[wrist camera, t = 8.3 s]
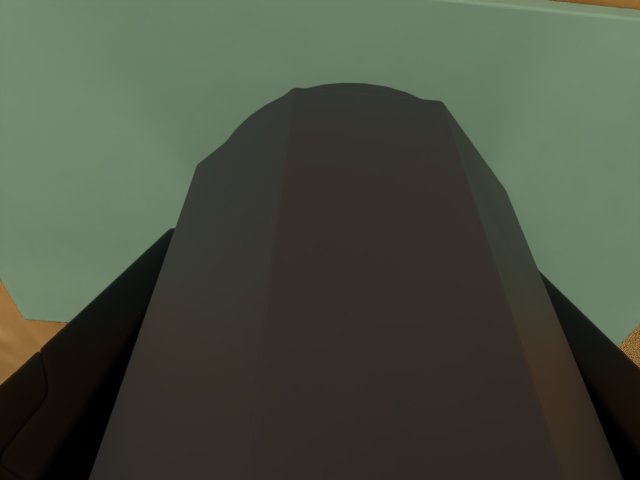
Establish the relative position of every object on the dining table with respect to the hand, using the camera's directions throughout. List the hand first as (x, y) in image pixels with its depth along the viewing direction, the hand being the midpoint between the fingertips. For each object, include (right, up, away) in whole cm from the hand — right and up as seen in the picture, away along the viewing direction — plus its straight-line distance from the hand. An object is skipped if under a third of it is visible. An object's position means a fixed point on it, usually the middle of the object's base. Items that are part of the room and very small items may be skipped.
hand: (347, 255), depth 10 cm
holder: (0, +1, +1) cm, 2 cm away
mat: (0, +1, +2) cm, 2 cm away
